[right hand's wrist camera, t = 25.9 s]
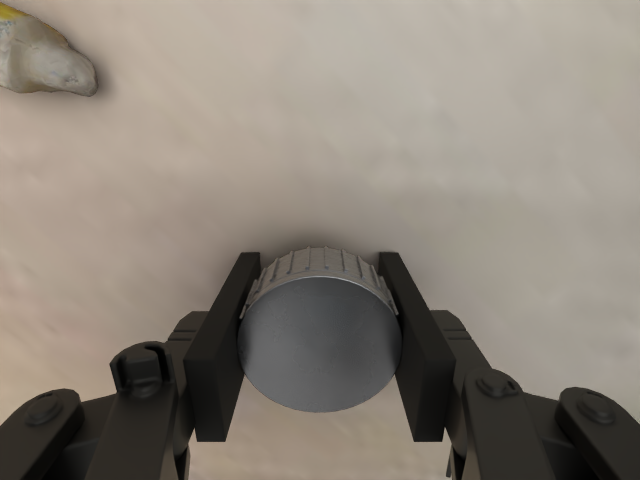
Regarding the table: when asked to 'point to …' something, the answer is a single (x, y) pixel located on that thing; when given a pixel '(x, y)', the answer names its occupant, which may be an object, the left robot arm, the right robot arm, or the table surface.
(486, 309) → the table surface
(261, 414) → the table surface
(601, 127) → the table surface
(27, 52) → the syringe
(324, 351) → the lid
